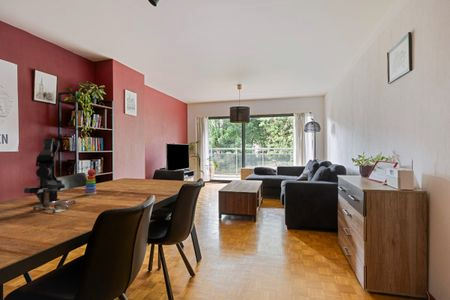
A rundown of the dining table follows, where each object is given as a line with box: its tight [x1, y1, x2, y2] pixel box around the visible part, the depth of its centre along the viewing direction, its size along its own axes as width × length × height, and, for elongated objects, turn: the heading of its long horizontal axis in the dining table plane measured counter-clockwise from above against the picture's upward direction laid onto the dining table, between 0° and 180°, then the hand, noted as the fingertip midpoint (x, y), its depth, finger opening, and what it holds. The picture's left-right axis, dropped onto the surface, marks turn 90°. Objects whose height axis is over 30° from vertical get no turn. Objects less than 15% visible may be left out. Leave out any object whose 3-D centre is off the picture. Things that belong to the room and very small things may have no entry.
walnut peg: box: [41, 192, 50, 208], centre depth 136 cm, size 3×3×8 cm
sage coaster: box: [51, 208, 67, 213], centre depth 132 cm, size 5×5×1 cm
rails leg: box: [33, 203, 69, 214], centre depth 134 cm, size 17×8×2 cm, turn 69°
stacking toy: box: [83, 168, 97, 196], centre depth 177 cm, size 8×8×19 cm
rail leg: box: [32, 198, 77, 211], centre depth 141 cm, size 8×20×2 cm, turn 159°
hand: (45, 203), depth 136 cm, fingers closed on walnut peg, 3 cm apart
